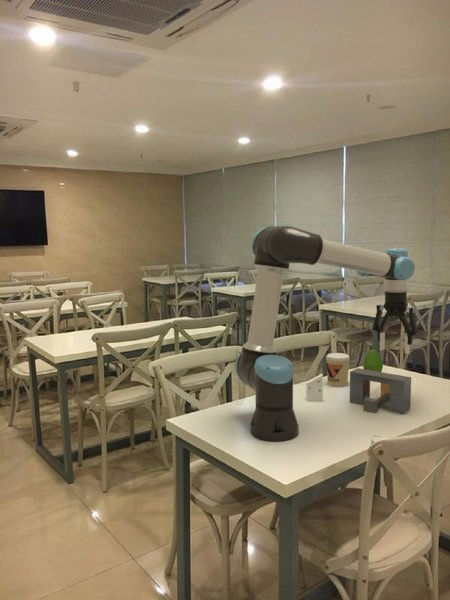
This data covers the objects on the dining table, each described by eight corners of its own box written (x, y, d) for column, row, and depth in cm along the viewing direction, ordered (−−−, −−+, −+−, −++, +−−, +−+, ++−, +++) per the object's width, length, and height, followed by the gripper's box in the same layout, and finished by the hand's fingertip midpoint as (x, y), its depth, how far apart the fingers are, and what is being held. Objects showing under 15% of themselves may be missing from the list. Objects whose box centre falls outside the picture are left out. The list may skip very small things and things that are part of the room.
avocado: (373, 380, 209) (374, 352, 207) (359, 376, 215) (359, 349, 214) (386, 377, 213) (387, 349, 212) (371, 373, 220) (372, 346, 218)
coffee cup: (321, 384, 206) (321, 355, 204) (334, 379, 212) (335, 351, 210) (340, 389, 199) (340, 359, 197) (353, 384, 205) (354, 355, 204)
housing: (403, 414, 171) (404, 381, 169) (349, 402, 184) (350, 371, 182) (410, 409, 175) (411, 377, 174) (357, 397, 188) (357, 368, 187)
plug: (378, 413, 172) (378, 391, 170) (359, 409, 176) (359, 387, 175) (404, 397, 188) (404, 376, 187) (386, 393, 192) (386, 373, 191)
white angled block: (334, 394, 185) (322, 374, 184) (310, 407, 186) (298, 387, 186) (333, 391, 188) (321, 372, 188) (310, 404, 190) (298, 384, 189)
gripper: (429, 291, 179) (427, 353, 182) (372, 288, 193) (371, 345, 196) (422, 293, 174) (420, 357, 177) (363, 290, 188) (362, 349, 191)
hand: (394, 351), depth 186 cm, fingers open, 9 cm apart
